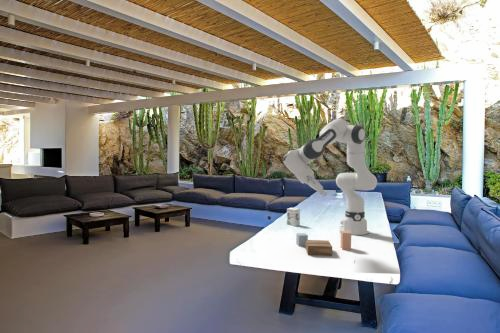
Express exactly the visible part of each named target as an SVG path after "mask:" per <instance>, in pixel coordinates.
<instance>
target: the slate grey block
mask: <svg viewBox="0 0 500 333" xmlns="http://www.w3.org/2000/svg"><path fill="white" fill-rule="evenodd" d="M306 240H309V235H308V234H307V233H303V232H302V233H301V232H300V233H298V232H297V233H296V242H295V244H296V245H297V246H298V247H306Z"/></svg>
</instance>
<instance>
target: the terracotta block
mask: <svg viewBox="0 0 500 333" xmlns="http://www.w3.org/2000/svg"><path fill="white" fill-rule="evenodd" d="M341 248H342V249H341ZM340 249H341V250H342V251H351V250H352V234H351V232H349V231H341V232H340Z"/></svg>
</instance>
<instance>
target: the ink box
mask: <svg viewBox="0 0 500 333" xmlns="http://www.w3.org/2000/svg"><path fill="white" fill-rule="evenodd" d="M300 211H301V210H300V208H296V207H289V208H286V225H289V226H293V227H298V226H301V218H300V217H301V212H300Z"/></svg>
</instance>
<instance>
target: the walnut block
mask: <svg viewBox="0 0 500 333" xmlns="http://www.w3.org/2000/svg"><path fill="white" fill-rule="evenodd" d="M305 252H306V253H307V256H323V257H325V256H326V257H333V245H332V243H330V241H329V240H320V239H319V240H318V239H308V240H306V246H305Z"/></svg>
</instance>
